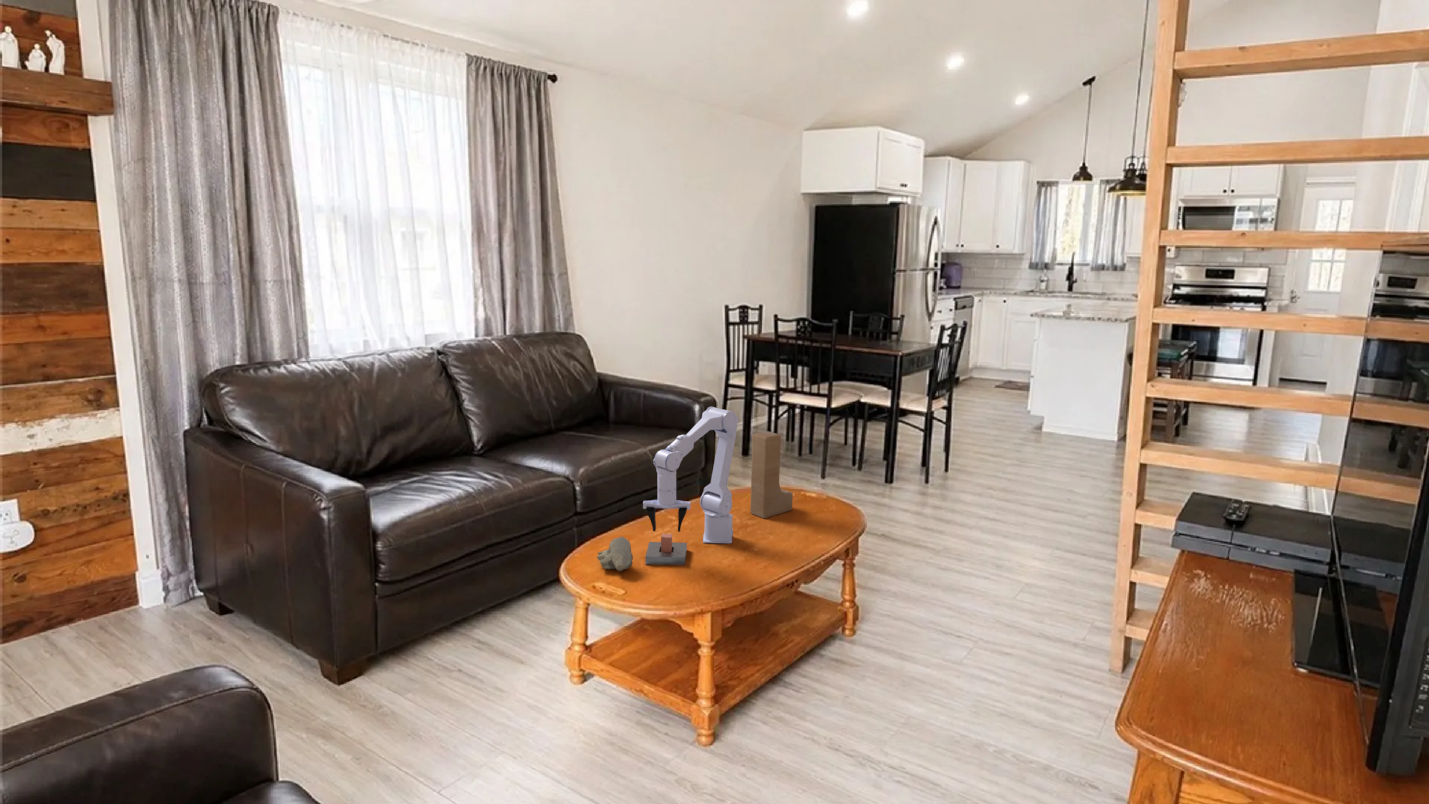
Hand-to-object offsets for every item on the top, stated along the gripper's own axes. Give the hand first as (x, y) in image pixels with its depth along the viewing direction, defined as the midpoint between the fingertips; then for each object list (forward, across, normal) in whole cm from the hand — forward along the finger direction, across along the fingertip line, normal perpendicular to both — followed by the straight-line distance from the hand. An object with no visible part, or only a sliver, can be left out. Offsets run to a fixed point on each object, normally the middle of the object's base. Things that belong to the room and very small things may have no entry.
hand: (666, 530), depth 253 cm
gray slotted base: (+9, 0, 0) cm, 9 cm away
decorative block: (+9, +35, +44) cm, 57 cm away
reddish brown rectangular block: (+9, 0, 0) cm, 9 cm away
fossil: (+9, -15, -10) cm, 20 cm away
